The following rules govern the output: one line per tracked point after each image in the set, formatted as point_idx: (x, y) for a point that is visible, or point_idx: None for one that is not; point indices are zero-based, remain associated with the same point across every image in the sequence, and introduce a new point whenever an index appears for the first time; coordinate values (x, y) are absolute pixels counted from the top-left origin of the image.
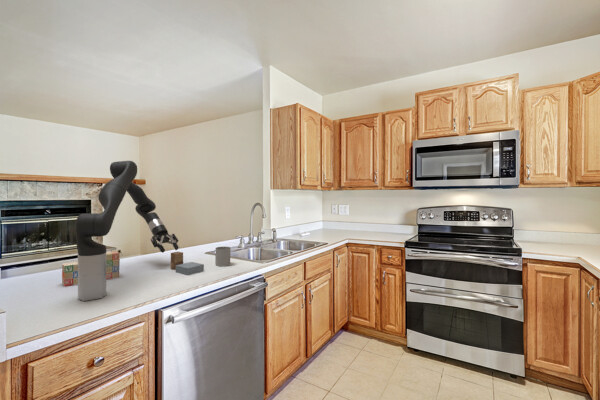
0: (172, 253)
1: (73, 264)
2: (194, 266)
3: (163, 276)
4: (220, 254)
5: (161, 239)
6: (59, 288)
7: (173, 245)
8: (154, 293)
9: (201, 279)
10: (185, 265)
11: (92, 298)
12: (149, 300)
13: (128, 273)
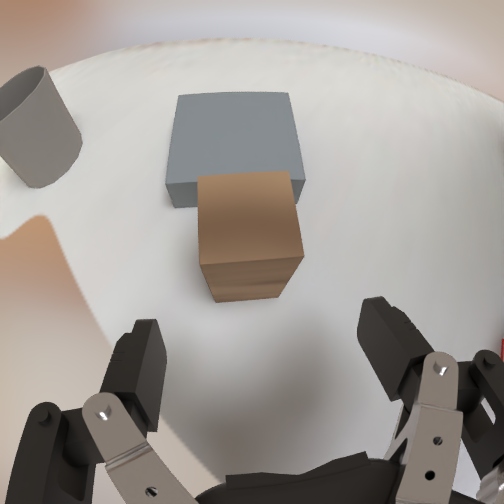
0: (298, 226)
1: None
2: (241, 93)
3: (377, 187)
4: (56, 93)
5: (446, 447)
6: None
7: (153, 418)
8: (430, 88)
9: (276, 62)
10: (261, 136)
11: None
12: (439, 74)
13: None
